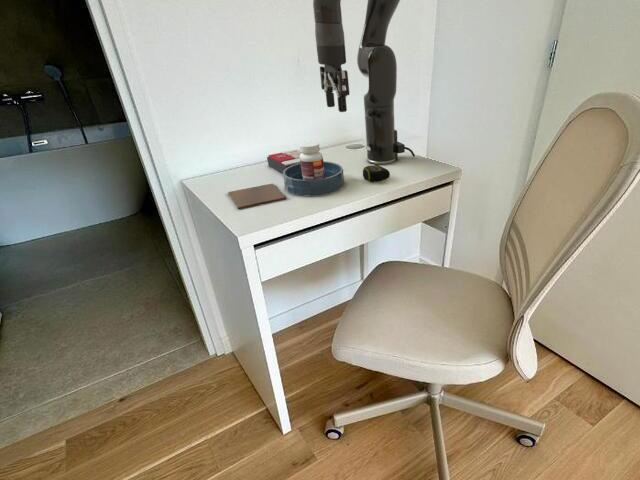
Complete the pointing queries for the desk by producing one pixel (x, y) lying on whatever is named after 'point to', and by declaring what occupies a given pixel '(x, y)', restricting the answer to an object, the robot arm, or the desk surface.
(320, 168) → the pill bottle
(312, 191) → the bowl
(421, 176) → the desk surface
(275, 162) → the calculator
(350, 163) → the desk surface
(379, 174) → the tape measure
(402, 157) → the desk surface
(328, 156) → the desk surface
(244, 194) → the coaster
